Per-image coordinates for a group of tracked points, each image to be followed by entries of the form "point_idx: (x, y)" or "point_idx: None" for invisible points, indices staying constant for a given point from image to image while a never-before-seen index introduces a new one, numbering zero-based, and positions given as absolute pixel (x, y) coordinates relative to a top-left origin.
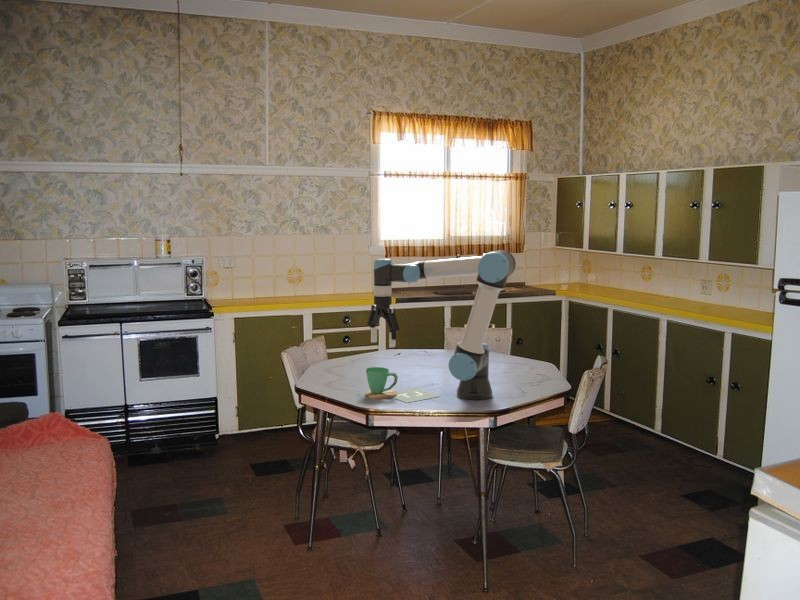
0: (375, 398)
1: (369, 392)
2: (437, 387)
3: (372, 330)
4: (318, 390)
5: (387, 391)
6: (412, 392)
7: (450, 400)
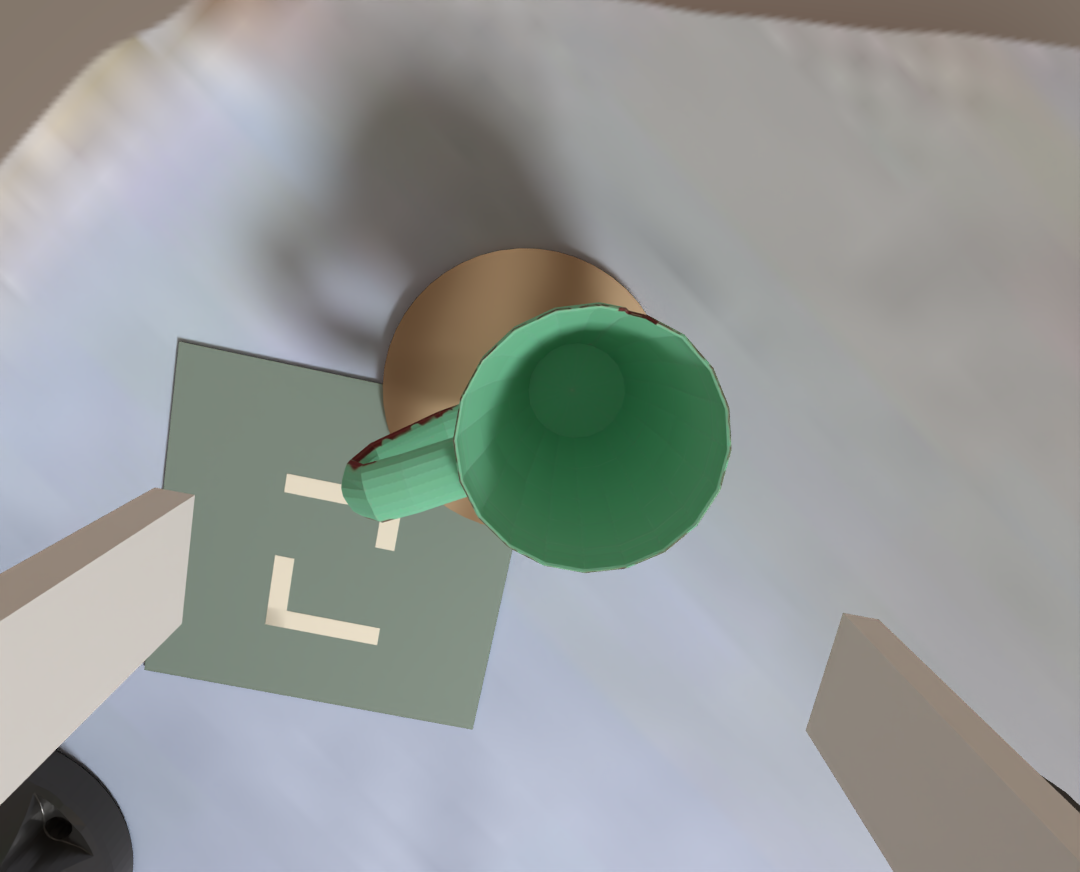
0: (468, 260)
1: None
2: (356, 840)
3: (1018, 830)
4: (1070, 103)
5: None
6: (378, 606)
7: None
